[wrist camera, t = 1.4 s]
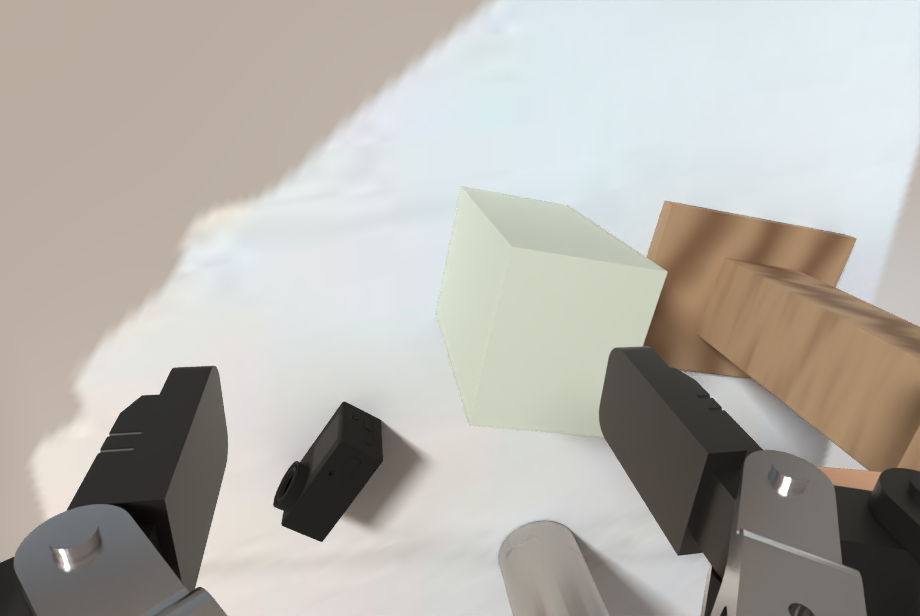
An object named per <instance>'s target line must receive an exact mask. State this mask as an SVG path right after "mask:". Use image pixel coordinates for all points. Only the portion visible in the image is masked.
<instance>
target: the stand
mask: <svg viewBox="0 0 920 616" xmlns="http://www.w3.org/2000/svg"><path fill="white" fill-rule="evenodd" d="M856 239H857V238H854V237H851V236H848V235H845V234H840V233H834V232H829V231H824V230H818V229H813V228H808V227H802V226H797V225H792V224H786V223H781V222H776V221H771V220H765V219H760V218H755V217H749V216H744V215H739V214H733V213H728V212H723V211H717V210H712V209H707V208H702V207H696V206H691V205H686V204H680V203H675V202H670V201H665V202H664V205H663V208H662V211H661V214H660V217H659V220H658V224H657V227H656V230H655V233H654V236H653V239H652V242H651V245H650V248H649V252H648V255H647V258H648V259H649V260H651V261H652V262H654V263H655V264H657V265H658V266H660V267H661V268H663V269H664V270H666V271H667V275H666V278H665V281H664V284H663V287H662V290H661V293H660V296H659V299H658V302H657V305H656V308H655V311H654V314H653V317H652V320H651V323H650V326H649V329H648V332H647V335H646V338H645V341H644V344H643V346H649V347H651V348H652V349H653V350H654V351H655V352H656V353H657V354H658V355H659V356H660V357H661V358H662V359H663V361H664V362H665V363H666V364H667V365H668V366H669V367H670V368H673V367H674V368H675V369H680V370H689V371H697V372H705V373H713V374H721V375H730V376H738V377H746V378H753V379H754V380H755V381H757V382H758V383H759V384H760V385H762V386H763V387H764V388H765V389H767V390H768V391H769V392H770V393H772V394H773V395H774V396H775V397H777V398H778V399H779V400H781V401H782V402H783V403H784V404H786V405H787V406H788V407H789V408H791V409H792V410H793V411H794V412H796V413H797V414H798V415H799V416H801V417H802V418H803V419H804V420H806V421H807V422H808V423H809V424H811V425H812V426H813V427H815V428H816V429H817V430H818V431H820V432H821V433H822V434H823V435H825V436H826V437H827V438H828V439H830V440H831V441H832V442H833V443H835V444H836V445H837V446H839V447H840V448H841V449H842V450H844V451H845V452H846V453H848V454H849V455H850V456H851V457H852V458H854V459H855V460H856V461H857V462H859V463H860V464H861V465H862V466H864V467H865V468H866V469H868V470H869V471H875V472H883V471H885V470H887V469H890V468H906V469H912V470H917V471H920V327H919V326H917V325H914V324H912V323H910V322H908V321H906V320H904V319H901V318H899V317H897V316H895V315H893V314H890V313H888V312H886V311H884V310H882V309H880V308H878V307H876V306H874V305H871V304H869V303H867V302H865V301H863V300H861V299H858V298H856V297H854V296H852V295H850V294H848V293H846V292H843V291H841V290H839V289H837V288H835V286H836V284H837V282H838V280H839V277H840V275H841V273H842V271H843V268H844V266H845V264H846V261H847V259H848V257H849V255H850V252H851V250H852V248H853V246H854V243H855V241H856Z"/></svg>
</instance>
